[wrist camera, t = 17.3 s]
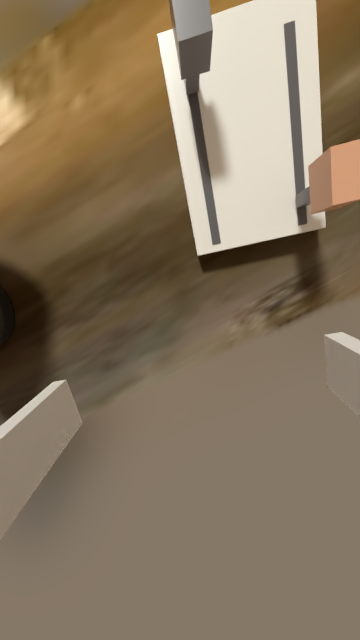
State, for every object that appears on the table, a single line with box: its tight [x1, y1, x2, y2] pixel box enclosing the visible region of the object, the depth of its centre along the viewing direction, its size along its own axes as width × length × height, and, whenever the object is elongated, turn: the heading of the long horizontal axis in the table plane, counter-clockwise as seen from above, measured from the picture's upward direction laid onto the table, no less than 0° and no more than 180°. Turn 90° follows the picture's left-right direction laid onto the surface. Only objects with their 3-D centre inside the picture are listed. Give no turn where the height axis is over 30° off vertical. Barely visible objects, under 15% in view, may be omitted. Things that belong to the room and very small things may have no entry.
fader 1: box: [169, 0, 213, 95], centre depth 22 cm, size 3×5×9 cm, turn 12°
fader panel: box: [157, 0, 326, 256], centre depth 29 cm, size 18×26×3 cm
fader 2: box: [295, 139, 360, 215], centre depth 24 cm, size 3×5×9 cm, turn 12°
